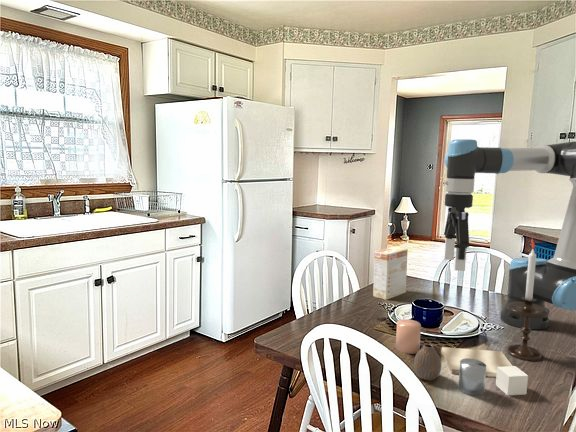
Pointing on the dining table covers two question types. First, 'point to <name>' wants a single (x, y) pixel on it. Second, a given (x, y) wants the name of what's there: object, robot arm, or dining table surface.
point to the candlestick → (527, 315)
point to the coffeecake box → (390, 272)
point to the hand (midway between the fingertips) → (453, 264)
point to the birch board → (486, 356)
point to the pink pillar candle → (408, 336)
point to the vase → (427, 363)
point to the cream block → (511, 380)
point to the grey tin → (472, 377)
